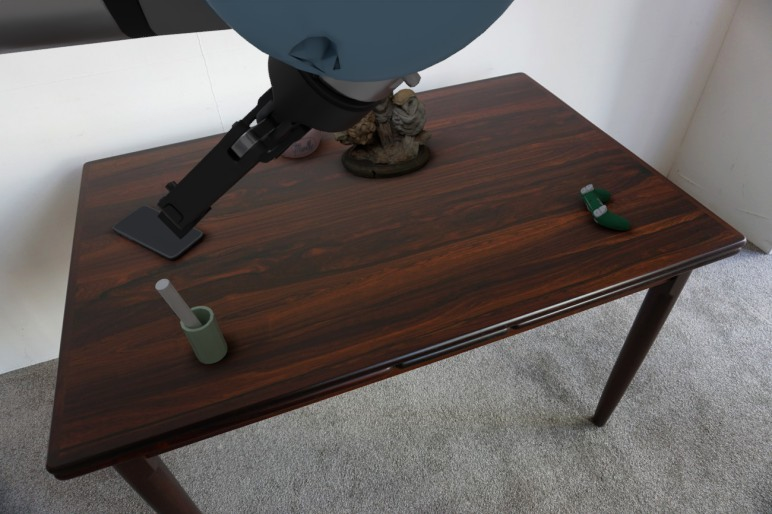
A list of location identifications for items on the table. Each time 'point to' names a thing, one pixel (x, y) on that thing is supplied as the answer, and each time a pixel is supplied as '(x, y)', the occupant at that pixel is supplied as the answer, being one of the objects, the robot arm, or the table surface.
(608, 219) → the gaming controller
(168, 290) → the stylus
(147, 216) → the smartphone
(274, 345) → the table surface
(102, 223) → the table surface
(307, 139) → the mug
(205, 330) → the pen holder
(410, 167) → the owl figurine
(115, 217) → the table surface
